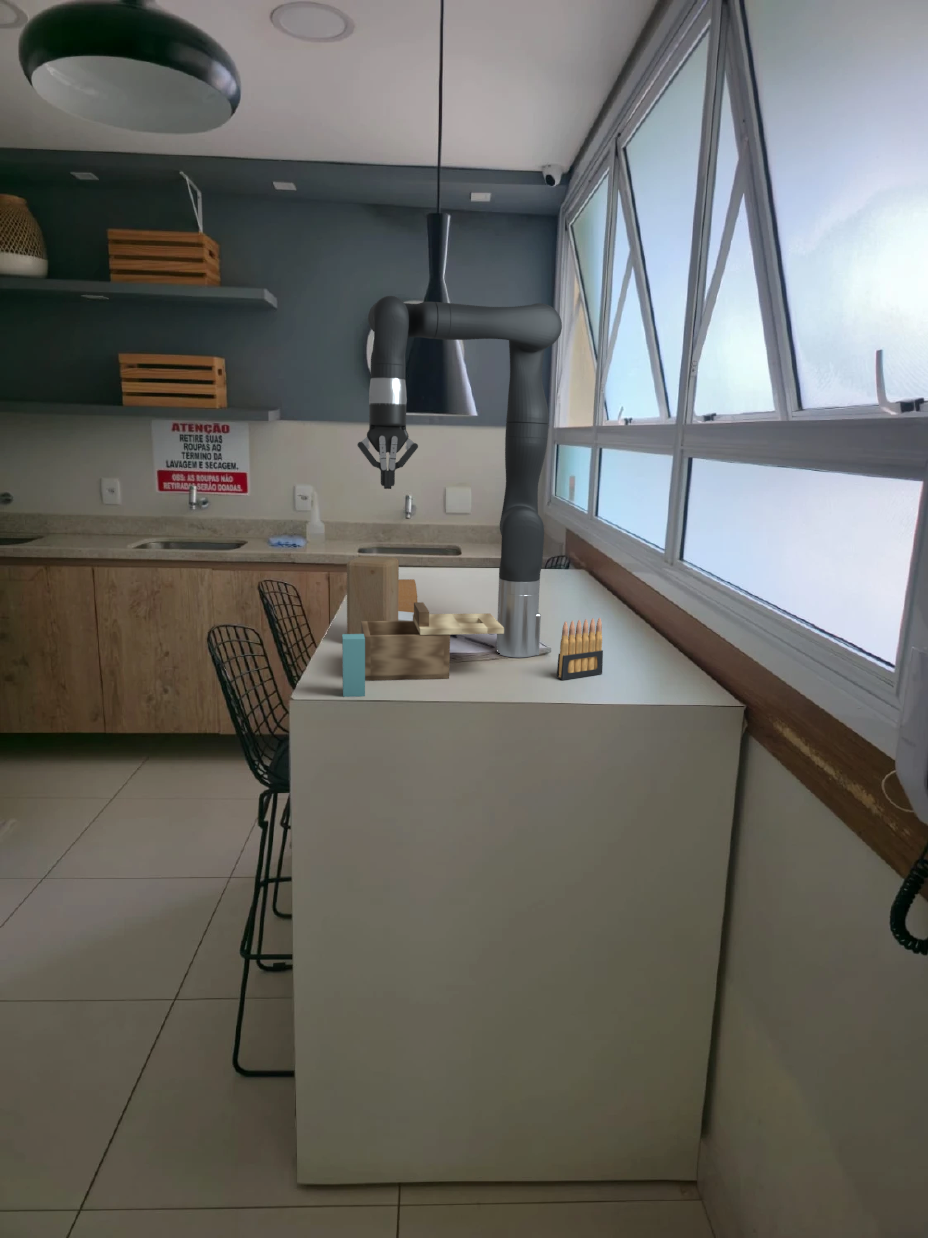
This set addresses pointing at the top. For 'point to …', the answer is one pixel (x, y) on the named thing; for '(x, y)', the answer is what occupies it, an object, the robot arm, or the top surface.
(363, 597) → the wooden block
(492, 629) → the lid
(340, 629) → the top surface
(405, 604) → the arch
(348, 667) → the teal block
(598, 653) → the ammunition clip
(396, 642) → the wooden box
